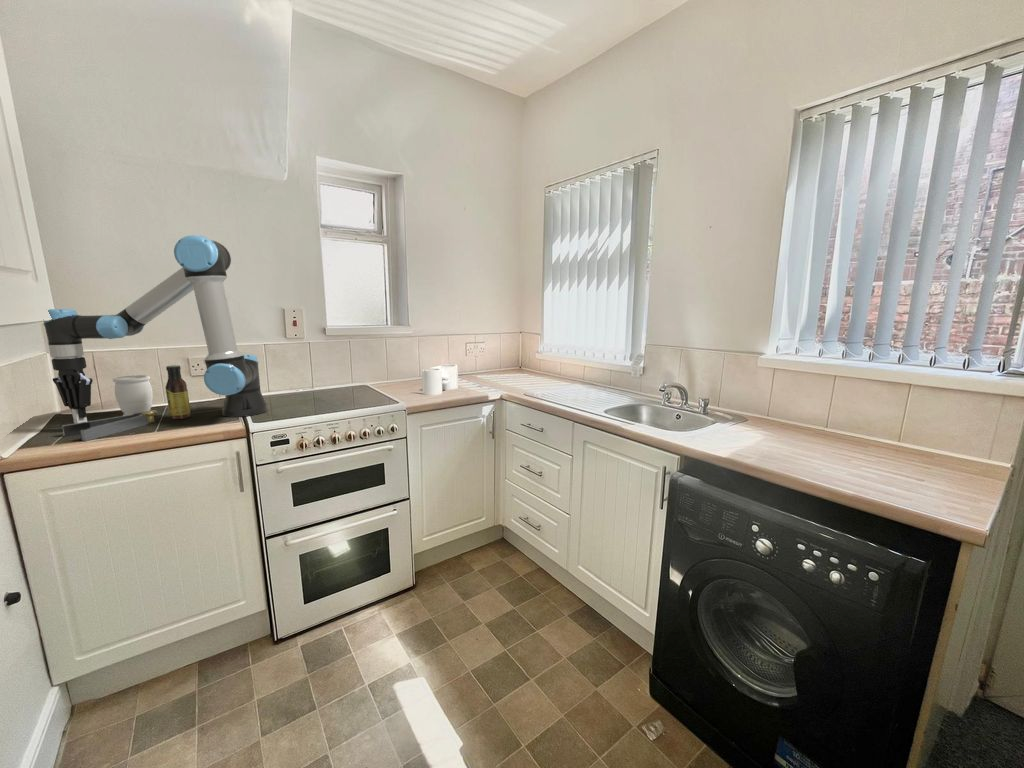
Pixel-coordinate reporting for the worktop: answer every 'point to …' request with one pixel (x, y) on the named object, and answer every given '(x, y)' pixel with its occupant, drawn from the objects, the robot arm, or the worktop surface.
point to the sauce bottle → (177, 394)
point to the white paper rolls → (440, 379)
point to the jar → (133, 393)
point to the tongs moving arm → (98, 423)
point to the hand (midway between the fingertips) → (81, 426)
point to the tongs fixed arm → (115, 427)
